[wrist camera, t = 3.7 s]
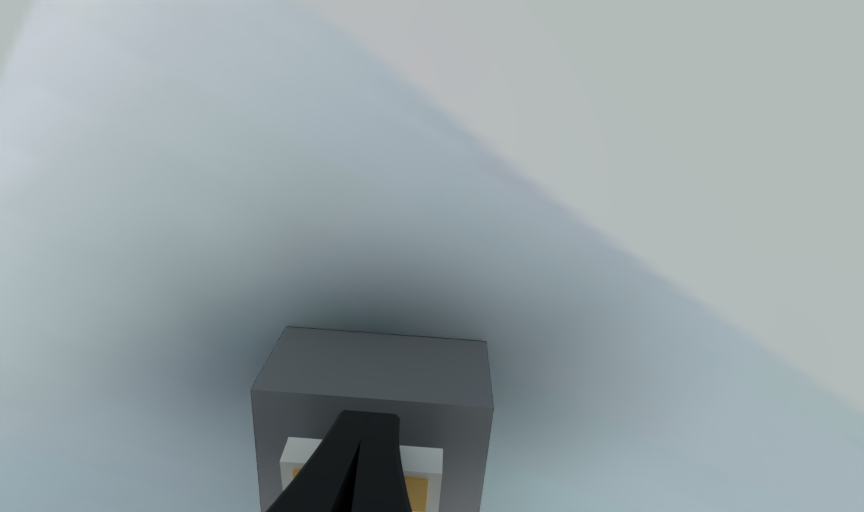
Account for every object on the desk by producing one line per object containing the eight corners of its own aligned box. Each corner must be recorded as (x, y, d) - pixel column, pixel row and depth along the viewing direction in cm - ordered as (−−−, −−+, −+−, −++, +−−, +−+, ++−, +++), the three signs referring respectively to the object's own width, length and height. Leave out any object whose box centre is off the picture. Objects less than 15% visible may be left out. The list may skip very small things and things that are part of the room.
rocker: (432, 538, 14) (430, 584, 13) (302, 529, 14) (289, 574, 13) (443, 433, 12) (442, 477, 11) (293, 422, 12) (278, 464, 11)
